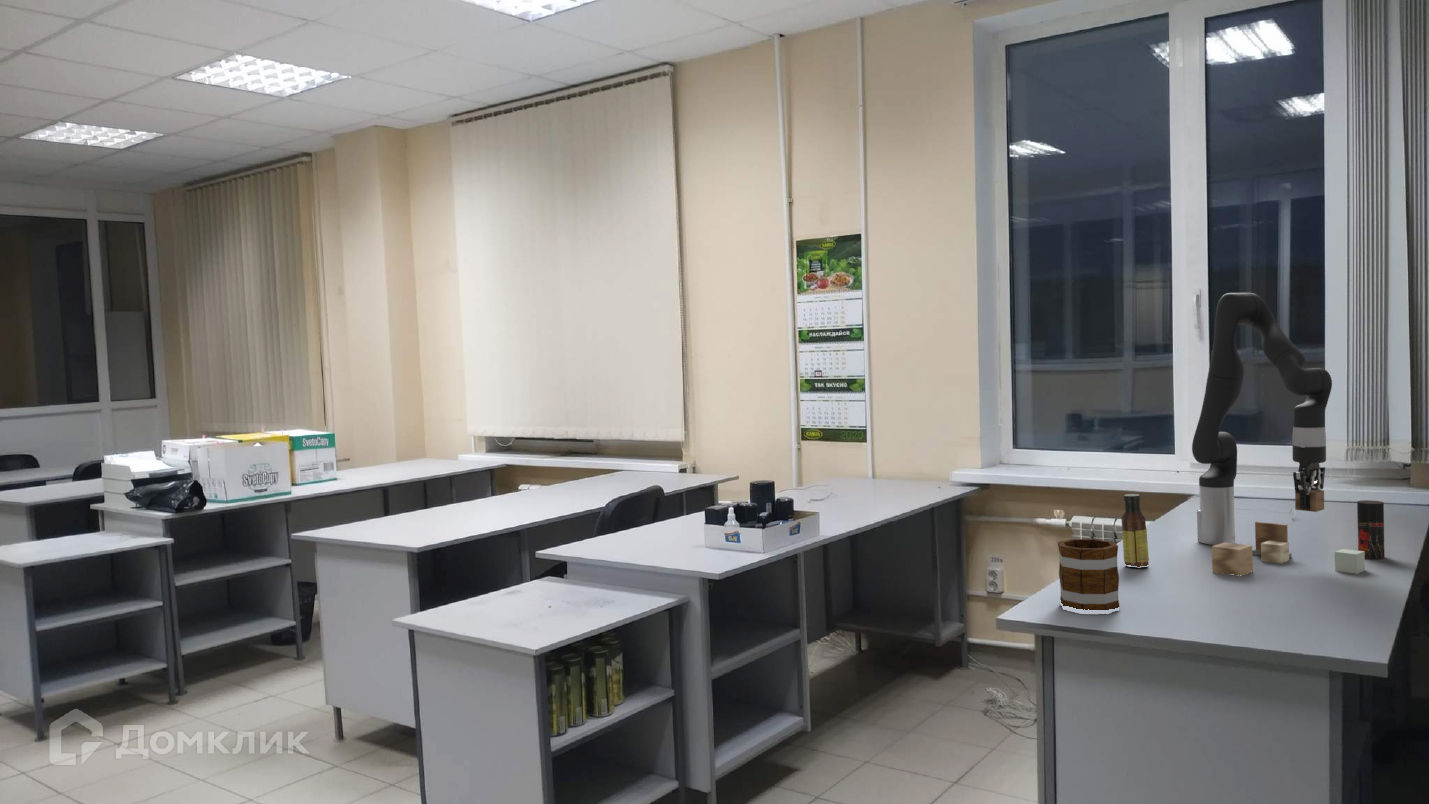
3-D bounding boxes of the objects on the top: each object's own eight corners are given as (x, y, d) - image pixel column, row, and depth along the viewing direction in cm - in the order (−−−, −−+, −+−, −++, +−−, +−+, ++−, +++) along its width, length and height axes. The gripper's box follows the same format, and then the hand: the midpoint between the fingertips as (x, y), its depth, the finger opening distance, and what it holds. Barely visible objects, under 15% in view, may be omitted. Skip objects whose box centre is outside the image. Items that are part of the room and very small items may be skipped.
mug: (1113, 618, 213) (1111, 551, 212) (1051, 611, 221) (1049, 547, 220) (1132, 597, 229) (1130, 536, 228) (1074, 592, 237) (1072, 532, 236)
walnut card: (1252, 554, 268) (1251, 522, 267) (1257, 553, 269) (1256, 520, 269) (1286, 559, 260) (1286, 525, 260) (1291, 557, 262) (1290, 524, 262)
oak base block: (1212, 572, 250) (1211, 546, 250) (1225, 568, 254) (1224, 542, 254) (1240, 576, 244) (1239, 549, 244) (1252, 572, 248) (1252, 545, 248)
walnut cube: (1295, 509, 252) (1295, 491, 252) (1303, 507, 255) (1303, 488, 255) (1316, 511, 248) (1316, 492, 248) (1324, 509, 251) (1324, 490, 251)
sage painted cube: (1335, 571, 246) (1334, 551, 245) (1342, 567, 249) (1342, 548, 248) (1357, 573, 242) (1356, 554, 241) (1364, 570, 244) (1364, 551, 244)
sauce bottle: (1149, 564, 262) (1147, 493, 261) (1148, 569, 256) (1146, 496, 255) (1123, 563, 264) (1121, 492, 263) (1122, 568, 259) (1120, 496, 258)
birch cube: (1261, 561, 260) (1260, 543, 260) (1269, 558, 263) (1269, 540, 263) (1280, 563, 256) (1280, 545, 256) (1289, 560, 259) (1288, 542, 259)
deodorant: (1388, 559, 255) (1387, 503, 254) (1364, 559, 256) (1363, 503, 256) (1378, 554, 261) (1377, 500, 260) (1354, 554, 262) (1353, 500, 261)
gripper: (1305, 440, 258) (1305, 502, 259) (1281, 445, 249) (1282, 510, 250) (1336, 442, 252) (1336, 505, 253) (1313, 447, 243) (1313, 513, 244)
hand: (1309, 507), depth 252 cm, fingers closed on walnut cube, 5 cm apart
